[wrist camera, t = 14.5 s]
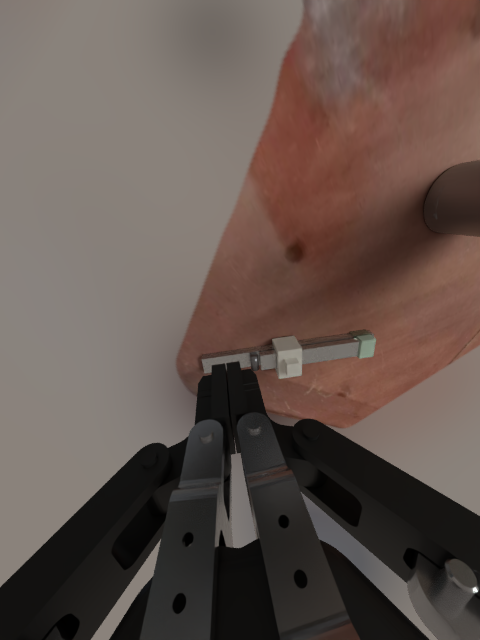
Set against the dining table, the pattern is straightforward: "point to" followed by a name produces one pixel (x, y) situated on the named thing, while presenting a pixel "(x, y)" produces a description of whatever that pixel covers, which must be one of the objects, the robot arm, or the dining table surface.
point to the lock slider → (288, 357)
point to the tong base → (252, 354)
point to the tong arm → (326, 351)
